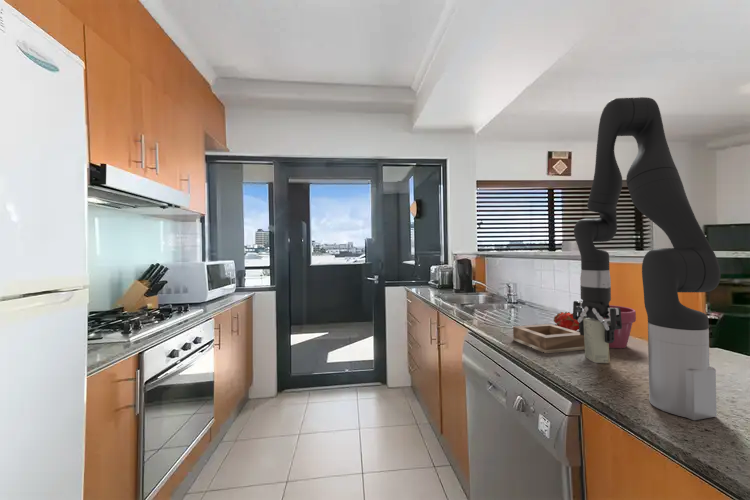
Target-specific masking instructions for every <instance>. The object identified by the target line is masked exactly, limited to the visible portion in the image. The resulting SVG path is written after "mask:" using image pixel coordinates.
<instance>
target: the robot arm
mask: <svg viewBox="0 0 750 500" xmlns="http://www.w3.org/2000/svg"><path fill="white" fill-rule="evenodd" d="M601 112H602V113H601V114H600V118H599V124H598V130H597V141H596V149H595V150H596V154H595V165H594V166H595V167H594V175H593V181H592V184H591V188H590V193H589V195H588V196H589V197H588V199H587V203H586V204H587V209H588V210H589V211H591V212H594V213H597V214H599V218H582V219H579V220H578V221H577V222H576V223H575V225H574V228H573V235H574V236H573V237H574V239H575V242H576V245H577V248H578V251H579V254H580V267H581V270H580V277H579V278H580V279H579V280H580V281H579V282H580V283H579V284H580V289H579V290H580V300H574V301H573V302H572V304H573V305H572V307H573V309H572V313H573V319H576V320H577V321H578V322H579V329H578V331H579V332H580V335H584V320H583V319H584V318H594V319H596V320H599V321H600V323H602V324H603V326H604V327H605V329H606V330H605V342H606V343H613V341H614V331H615V330H616V329H622V320H621V309H620V308H610V306H609V305H610V303H611V301H612V291H611V290H612V288H611V287H612V284H611V283H612V282H611V281H612V280H611V274H610V254H609V252H608V251H606V250H603V249H598V248H596V246H595V244H594V243H604V242H606V243H607V242H610V241H611V240H612V239H613V238H614V237H615V236H616V234H617V232H618V223H617V219H618V218H617V206H618V202H619V198H620V196H621V192H622V189H623V176H622V173H621V170H620V168H619V165H618V162H617V158H616V155H615V154H616V153H615V145H616V141H617V138H618V137H631V136H632V137H633V138H634V139H635V141H636V144H637V148H638V149H637V151H638V152H637V154H636V156H635V158H634V160H633V162H632V163H631V165H630V167H629V169H628V171H627V174H626V180H625V182H626V186H627V189H628V192H629V196H630V199H631V201H632V204H633V205H634V207H636V208H637V210H638V211H639V212H640V213H641V214H643V216H645V217H646V218H647V219H649V220H650V221H651V222H652V223H653V224H655V225H656V226H657V227H658V228H660V229H661V230H662V231H663V233H664V234H665V235H666V236H667V237H668V239H669V241H670V242H671V243H670V244H671V245H672V247H668V248H667V247H665V248H659V247H658V248H653V249H650V250H648V251H647V252H646V253H645V255H644V257H643V260H642V263H641V278H642V288H643V303H644V308H645V311H646V316H647V346H648V347H647V354H648V355H647V356H648V357H647V358H648V395H649V397H648V399H649V400H648V401H649V403H650V404H651V405H652V406H653V407H654V408H656V409H659V410H661V411H663V412H666V413H669V414H672V415H675V416H679V417H683V418H687V419H689V420H692V421H699V420H703V419H704V420H705V419H709V418H714V417H717V416H718V415H717V413H718V412H717V411H718V410H717V370H716V368H715V367H713V366H710V330H709V327H710V326H709V325H710V323H709V317H708V315H707V314H706V313H704V312H702V311H700V310H696V309H693V308H690V307H687V306H686V305H684V304H682V303H681V302H680V298H679V294H678V293H708V292H711V291H714V290H715V289H716V288H717V287H718V286H719V284H720V282H721V276H722V275H721V267H720V264H719V260H718V258H717V255H716V253H715V252H714V250H713V248H712V246H711V244H710V243H709V242H710V241H708V239H707V237H706V234H705V233H704V231H703V230H702V227H701V226H700V224H699V221H698V220H697V218H696V215H695V213H694V211H693V208H692V206H691V204H690V201H689V199H688V196H687V194H686V193H687V192H686V190H685V187H684V185H683V181H682V178H681V176H680V173H679V170H678V168H677V166H676V163H675V162H674V159H673V157H672V153H671V150H670V148H669V145H668V140H667V138H666V133H665V128H664V124H663V120H662V119H663V118H662V114H661V109H660V106H659V104H658V103H657V101H656V100H655V99H654V98H651V97H646V96H644V97H643V96H642V97H641V96H640V97H639V96H638V97H618V98H613V99H611V100H609V101H608V102H607V103H606V104H605V105H604V107H603V109H602V111H601ZM609 314H610V315H609ZM605 317H606V319H604V318H605ZM607 322H608V323H607ZM608 324H609V325H608Z"/></svg>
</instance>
